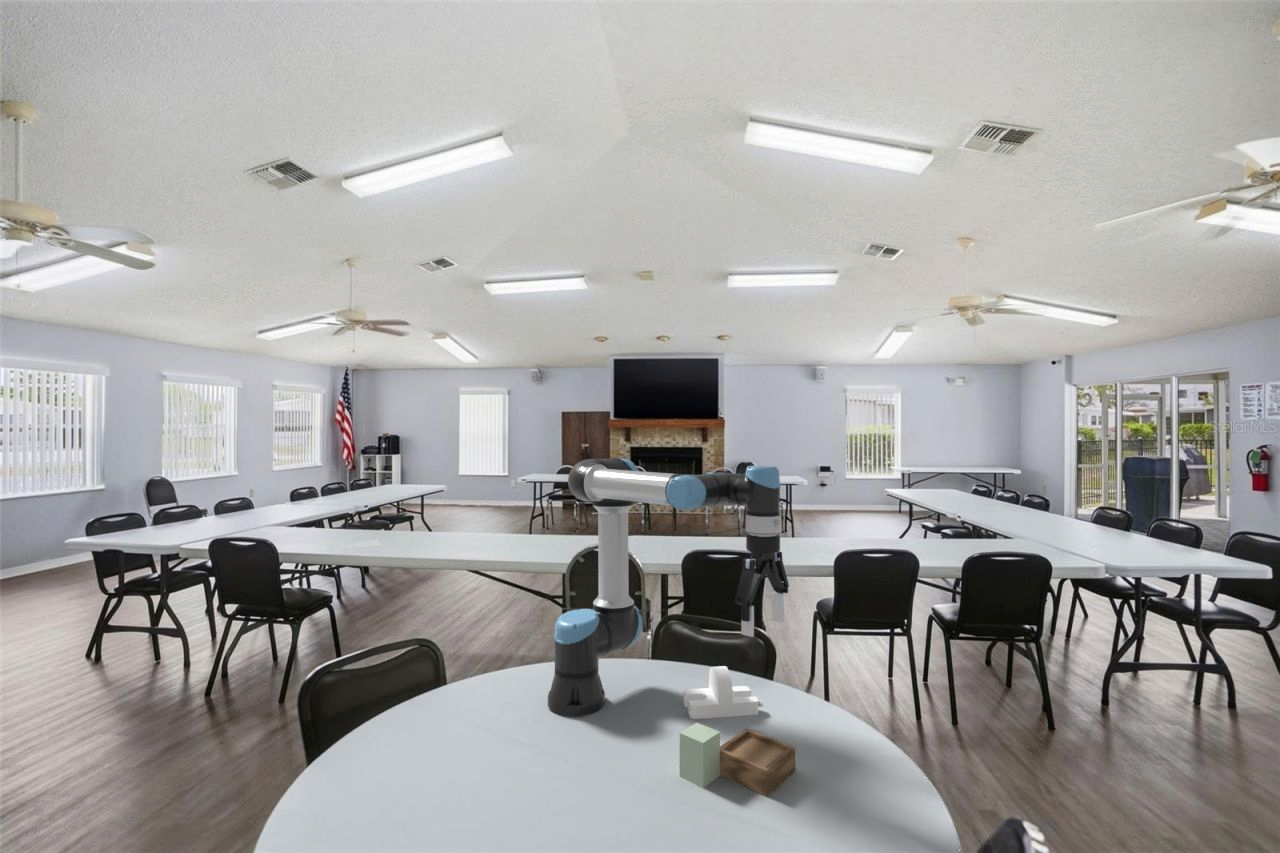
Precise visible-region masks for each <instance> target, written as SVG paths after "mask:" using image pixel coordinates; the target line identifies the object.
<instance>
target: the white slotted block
mask: <svg viewBox="0 0 1280 853" xmlns="http://www.w3.org/2000/svg"><path fill="white" fill-rule="evenodd" d="M684 705H685V706H684ZM683 706H684V707H685V708H688V710H687V711H688V712H687V713H688V716H689V718H690V719H692V720H701V719H702V718H703V719H715V718H731V717H744V716H757V715H759V698H758V697H757V696H755V695H754V696H752V690H751V688H750V687H749V686H747V685H737V686H733V682H732V676H731V674H730V670H729V669H728V666H726V665H722V666H720V665H718V666H710V669H709V673H708V687H706V688H705V687H702V688H701V687H700V688H689V689H684V690H683Z"/></svg>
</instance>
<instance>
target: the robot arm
mask: <svg viewBox="0 0 1280 853" xmlns="http://www.w3.org/2000/svg"><path fill="white" fill-rule="evenodd" d="M780 480H781V479H780V470H779V468H778V467H777V466H774V465H748V466H747V467H746V469H745V473H737V472H736V473H733V472H722V471H714V472H707V473H705V474H684V473H671V472H670V473H668V472H655V471H654V472H653V471H640V469H639V468H638V466H636V465H635V463H634V462H633V461H631V460H629V459H628V458H627V459H626V458H619V457H614V458H613V457H611V458H588V459H584V460H580V461H578V462H577V463H576V464H575V465H574V466H572V469H570V471H569V474H568V478H567V483H568V488H569V491H570V492H571V494H572V495H573V496H574V497H575V498H576V499H579V500H581V501H583V502H592V507H593V508H594V509H595V510H596V511H597V513H598V516H597V517H598V520H597V523H598V525H597V529H598V530H597V531H598V534H597V535H598V537H597V538H598V543H597V544H598V547H597V549H598V551H597V552H598V562H597V563H598V570H597V571H598V583H597V584H598V595H597V597H596V598H595V599H594V600H593V602H592V605H593V606H592V609H591V608H579V609H572V610H569V611H566V612H564V613H562V614H561V615H560V616H559V617H558V618H557V619H556V621H555V624H554V626H555V627H554V633H553V634H554V635H553V638H554V676H553V679H552V683H551V686H550V690H549V692H548V694H547V708H548V709H549V710H550V711H551V712H553V713H555V714H557V715H561V716H567V717H568V716H569V717H581V716H586V715H591V714H594V713H596V712H597V711H599V710H601V709H603V707H604V706H605V704H606V692H605V690H604V688H603V684H602V680H601V676H600V674H599V659H600V658H601V657H603V656H606V655H609V654H612V653H615V652H617V651H620V650H624V649H627V648H628V647H629V646H632V645H633V644H636V642H637V641H638V640H639V638H640V637H641V634H642V632H643V618H642V614H641V613H640V610H639V608H638V607H637V606H636V605H635V601H634V599H633V598H632V597H631V596H630V594H629V582H630V581H629V511H630V510H631V509H632V508H633V506H634V503H643V504H652V505H660V506H661V505H662V506H670V507H673V508H674V509H677V510H679V511H693V510H696V509H702V508H703V509H704V508H709V507H717V506H718V507H719V506H725V505H730V506H742V507H745V509H746V510H745V513H746V515H745V517H746V518H745V520H746V522H745V531H746V532H747V534H746V536H745V538H746V543H745V547H746V550H747V551H748V552H749V553H751V556H750V558H746V557H745V558H743V560H742V570H741V573H740V577H739V581H738V582H739V583H738V586H737V589H736V594H735V598H734V603H735V604H736V605H740V617H741V618H740V619H741V622H740V624H741V625H740V626H741V628H740V630H741V632H740V633H741V634H740V635H743V636H746V637H751V638H753V637H754V636H755V606H754V605H752V604H753V602H754V599H755V596H756V593H757V591H758V588H759V586H760V583H761V581H762V580H763V579H764V577H767V579H768V581H769V583H770V585H771V587H772V589H773V591H772V592H771V621H775V622H779V623H783V622H784V619H785V617H784V616H785V615H784V614H785V613H784V612H785V611H784V607H785V606H784V605H785V604H784V603H785V602H784V601H785V600H784V597H785V595H784V594H788V593H789V587H790V585H789V581H788V576H787V573H786V572H787V571H786V570H785V569H786V568H785V564H784V561H783V552H782V551H780V550H781V537H780V535H779V533H780V532H781V528H780V527H781V523H782V521H781V518H780V516H781V515H780V514H781V513H780V500H781V497H780V496H781V495H780V494H781V492H780V491H781V481H780Z"/></svg>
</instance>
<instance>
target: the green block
mask: <svg viewBox="0 0 1280 853" xmlns="http://www.w3.org/2000/svg"><path fill="white" fill-rule="evenodd" d="M720 746H721V731H719V730H716V729H714V728H712V727H708V726H706V725H704V724H702V723H699V722H695V723H694V724H692V725H691V726H689V727H687V728H685V729H684V730H682V731H681V732H679V777H680V778H682V779H683V780H686V781H687V782H690V783H692V784H694V785H695V786H698V787H700V788H702V789H704V788H706V787H707V786H708V785H709V784H711V783H713V782H714V781H715V780H716V779H717V778H719V777H721V775H720Z"/></svg>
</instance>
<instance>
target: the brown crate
mask: <svg viewBox="0 0 1280 853" xmlns="http://www.w3.org/2000/svg"><path fill="white" fill-rule="evenodd" d="M795 772H796V747H795V746H793V745H792V744H791V745H790V744H788V743H786V742H783V741H782V740H781V741H780V740H778V739H775V738H772V737H771V736H768V735H765V734H762V733H760V732H757V731H754V730H753V729H749V728H745V729H743V730H742V731H740V732H739V733H738V734H737V733H736V734H735V735H734V736H733V737H731V738H730V739H729V740H727V741H726V742H724V743H723V744H720V777H722V778H726V779H728V780H729V781H731V782H734V783H736V784H738V785H741V786H743V787H744V788H747V789H748V790H751V791H753V792H755V793H757V794H759V795H762V796H764V797H766V798H767V797H769V796H770V795H771V794H772V793H773V792H774V791H775V790H776V789H778V788H779V787H780V786H781V785H782V784H783V783H784V782H785V781H786V780H787V779H788V778H789V777H790V776H792V775H793V774H794V773H795Z"/></svg>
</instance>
